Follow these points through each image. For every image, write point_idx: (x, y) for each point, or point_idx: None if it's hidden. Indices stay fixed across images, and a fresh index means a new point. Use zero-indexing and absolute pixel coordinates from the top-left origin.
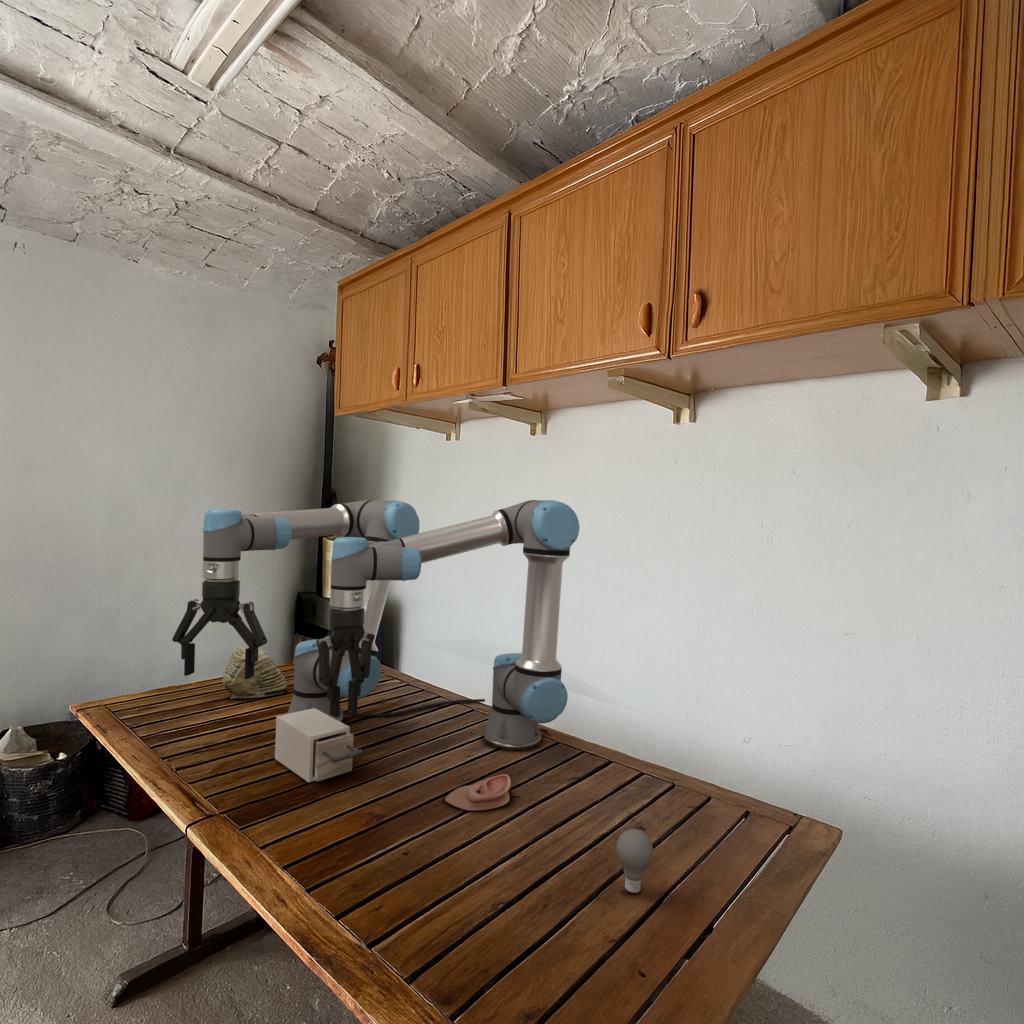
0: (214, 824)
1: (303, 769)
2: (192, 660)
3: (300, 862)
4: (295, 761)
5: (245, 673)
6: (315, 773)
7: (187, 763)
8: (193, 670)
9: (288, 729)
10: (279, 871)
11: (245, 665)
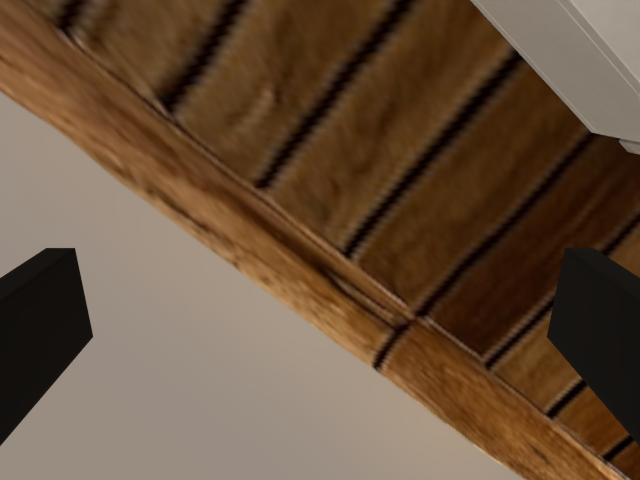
0: (425, 357)
1: (586, 112)
2: (11, 335)
3: (631, 443)
4: (555, 72)
5: (574, 362)
6: (634, 146)
7: (167, 55)
8: (67, 270)
9: (567, 18)
10: (600, 467)
11: (613, 408)
